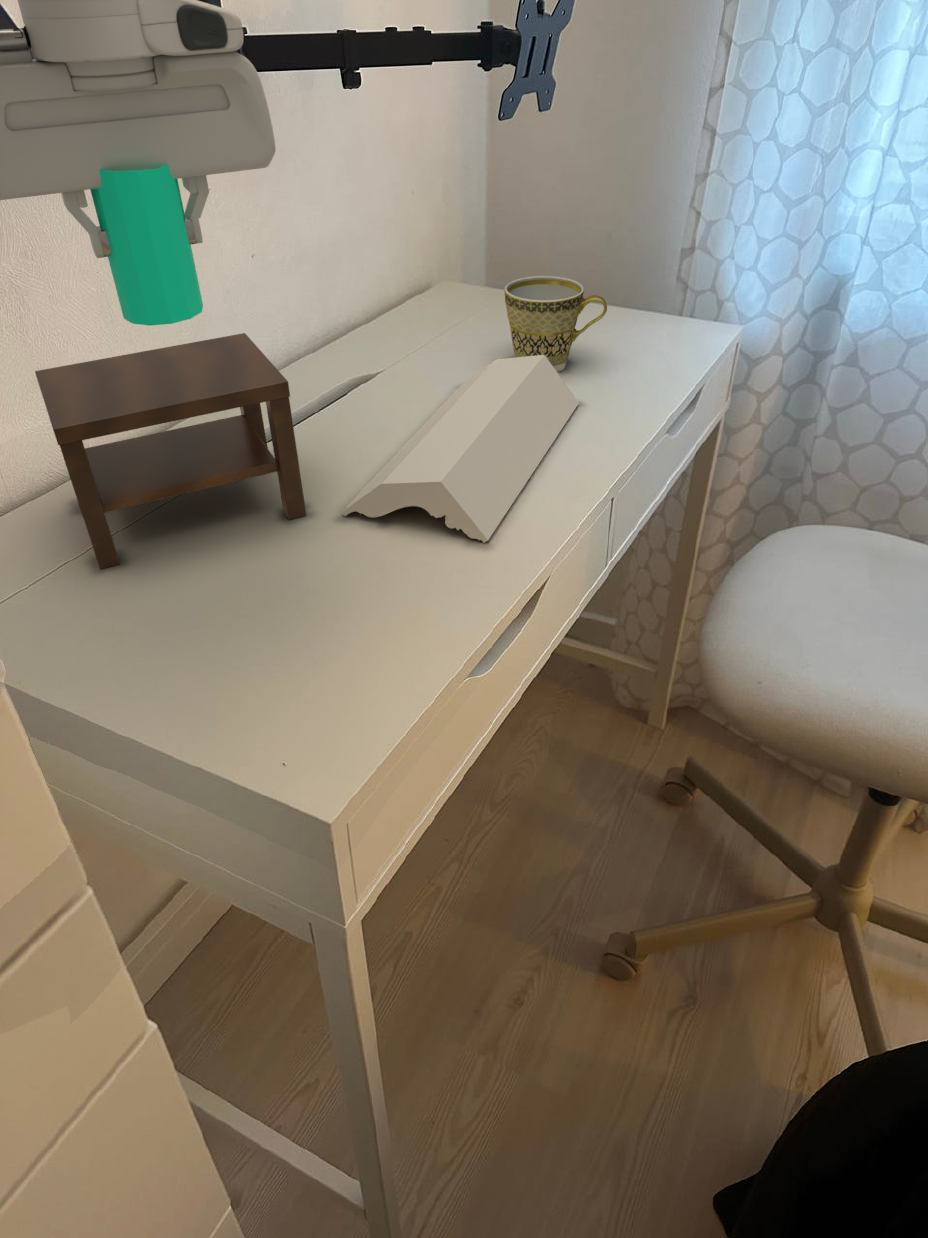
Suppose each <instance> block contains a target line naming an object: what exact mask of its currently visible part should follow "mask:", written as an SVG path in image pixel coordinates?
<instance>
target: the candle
mask: <svg viewBox="0 0 928 1238" xmlns="http://www.w3.org/2000/svg"><path fill="white" fill-rule="evenodd" d="M99 172H100V175H101V186H100V187H99V188H97V189H89V190H90V193H91V197H92V202H93V205H94V206H93V207H94V209H95V213H96V216H97V219H98V220H97V221H98V224H99V225H98V226H100V229H102V230H104V231H106V234H107V238H108V242H109V246H110V250H111V256H109V257H107V259H108V263H109V267H110V271H111V274H112V278H113V283H114V286H115V289H116V293H117V298H118V301H119V305H120V310H121V314H122V317H123V319H124V320H125V321H127V322H129V323H130V324H132V325H142V326H149V327H150V326H161V325H163V326H164V325H171V324H176V323H181V322H184V321H187V320H192V319H193V318H194V317H197V316H198V315H199V314H201V313H203V310H204V309H203V308H204V303H203V298H202V294H201V289H200V283H199V278H198V273H197V269H196V268H197V267H196V264H195V259H194V258H195V257H194V254H193V248H192V244H191V245H190V244H189V240H188V235H187V230H186V226H185V214H184V213H185V209H184V205H183V201H182V196H181V195H182V194H181V189H180V184H179V179H175V178H173V177H172V175H171V172H170V169H169V165H168V164H166V165H162V166H160V167H159V168H157V169H148V170H127V171H112V170H99Z"/></svg>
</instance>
